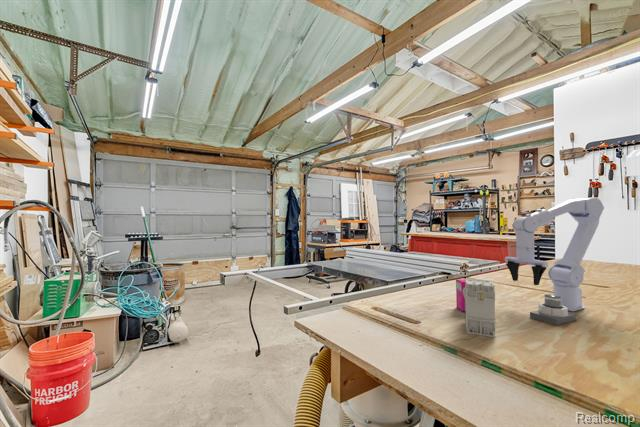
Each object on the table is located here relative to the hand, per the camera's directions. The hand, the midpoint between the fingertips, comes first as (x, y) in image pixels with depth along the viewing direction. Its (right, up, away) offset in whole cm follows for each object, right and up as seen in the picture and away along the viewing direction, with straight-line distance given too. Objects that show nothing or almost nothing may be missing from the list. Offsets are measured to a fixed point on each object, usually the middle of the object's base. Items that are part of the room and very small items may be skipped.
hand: (525, 282), depth 110 cm
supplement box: (-24, -10, -2) cm, 26 cm away
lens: (+1, -8, -12) cm, 14 cm away
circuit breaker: (-29, -10, -19) cm, 36 cm away
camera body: (+1, -10, -12) cm, 15 cm away
